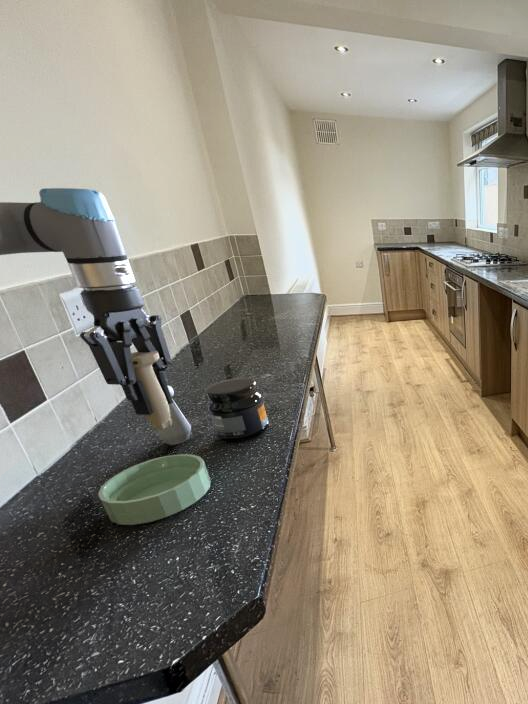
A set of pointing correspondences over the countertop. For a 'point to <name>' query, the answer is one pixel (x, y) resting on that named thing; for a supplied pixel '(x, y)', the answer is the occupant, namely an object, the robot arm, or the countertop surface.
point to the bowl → (155, 489)
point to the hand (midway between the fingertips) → (155, 408)
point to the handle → (152, 388)
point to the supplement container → (236, 410)
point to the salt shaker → (175, 426)
